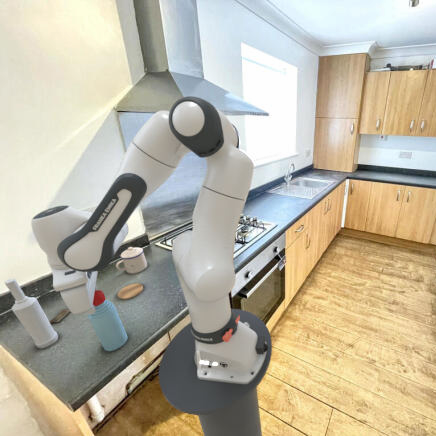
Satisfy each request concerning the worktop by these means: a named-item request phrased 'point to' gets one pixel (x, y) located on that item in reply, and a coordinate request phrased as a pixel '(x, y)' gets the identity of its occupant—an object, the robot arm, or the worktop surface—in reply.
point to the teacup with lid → (133, 260)
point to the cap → (98, 298)
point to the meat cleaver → (60, 316)
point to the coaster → (130, 291)
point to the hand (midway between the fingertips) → (93, 303)
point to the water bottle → (108, 326)
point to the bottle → (32, 316)
